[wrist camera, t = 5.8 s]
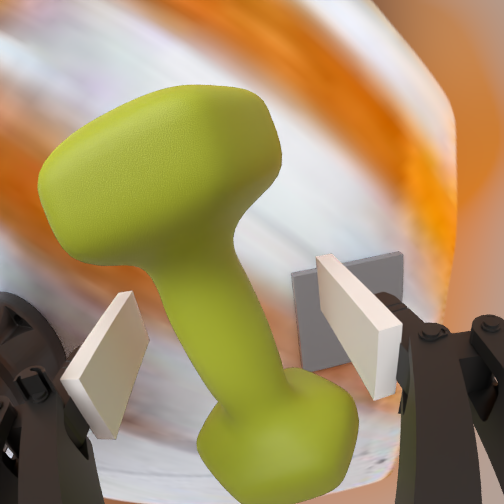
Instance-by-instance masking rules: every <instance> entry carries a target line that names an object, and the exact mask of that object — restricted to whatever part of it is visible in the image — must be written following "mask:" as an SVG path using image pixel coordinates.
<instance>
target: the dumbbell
mask: <svg viewBox="0 0 504 504" xmlns="http://www.w3.org/2000/svg"><path fill="white" fill-rule="evenodd" d="M281 165H282V152H281V146H280V141H279V138H278V135H277V131H276V129H275V126H274V123H273V121H272V118H271V115H270V113H269V110H268V108H267V106H266V105H265V103H264V101H263V100H262V99H261V98H260V97H259V96H257V95H256V94H254V93H252V92H250V91H248V90H245V89H240V88H235V87H227V86H214V85H182V86H175V87H170V88H165V89H162V90H158V91H155V92H152V93H149V94H147V95H144V96H141V97H139V98H136V99H134V100H132V101H130V102H127V103H125V104H123V105H121V106H119V107H117V108H115V109H113V110H111V111H109V112H107V113H105V114H104V115H102V116H100V117H98V118H96V119H95V120H93V121H91V122H90V123H88V124H86V125H85V126H83V127H82V128H80V129H79V130H77V131H76V132H74V133H73V134H72V135H70V136H69V137H68V138H67V139H66V140H65V141H63V142H62V143H61V144H60V145H59V146H58V147H57V148H56V149H55V150H54V151H53V152H52V153H51V154H50V156H49V157H48V158H47V159H46V161H45V162H44V164H43V166H42V168H41V171H40V173H39V178H38V193H39V197H40V201H41V204H42V206H43V209H44V211H45V214H46V217H47V219H48V222H49V224H50V226H51V228H52V230H53V233H54V235H55V237H56V238H57V240H58V242H59V243H60V245H61V246H62V248H63V249H64V250H65V251H66V252H67V253H68V254H69V255H70V256H71V257H73V258H75V259H77V260H79V261H81V262H84V263H88V264H94V265H100V266H117V265H130V266H136V267H140V268H141V269H143V270H144V271H146V273H147V274H148V275H149V276H150V277H151V278H152V280H153V282H154V283H155V285H156V287H157V290H158V292H159V294H160V297H161V300H162V303H163V305H164V308H165V311H166V314H167V316H168V319H169V321H170V323H171V325H172V327H173V329H174V331H175V333H176V335H177V337H178V339H179V341H180V343H181V344H182V346H183V348H184V350H185V352H186V353H187V355H188V357H189V359H190V360H191V362H192V364H193V366H194V367H195V369H196V371H197V372H198V374H199V376H200V377H201V379H202V380H203V382H204V383H205V385H206V386H207V388H208V389H209V391H210V392H211V394H212V395H213V396H214V397H215V399H216V400H217V401H218V403H217V404H216V405H215V407H214V408H213V410H212V411H211V413H210V414H209V416H208V418H207V419H206V421H205V423H204V425H203V427H202V429H201V431H200V433H199V435H198V437H197V451H198V453H199V455H200V457H201V459H202V460H203V462H204V463H205V465H206V466H207V468H208V469H209V470H210V472H211V473H212V474H213V475H214V477H215V478H216V479H217V480H218V481H219V482H220V484H221V485H222V486H223V487H224V488H225V489H226V490H227V491H228V492H229V493H230V494H231V495H232V496H233V497H234V498H235V499H236V500H237V501H239V502H240V503H241V504H295V503H299V502H303V501H306V500H309V499H313V498H316V497H318V496H321V495H324V494H326V493H328V492H330V491H332V490H334V489H335V488H336V487H338V486H339V485H340V483H341V482H342V481H343V479H344V477H345V475H346V473H347V470H348V468H349V465H350V462H351V459H352V455H353V452H354V448H355V444H356V440H357V435H358V427H359V418H358V413H357V408H356V405H355V402H354V400H353V398H352V397H351V395H350V394H349V393H348V392H347V391H345V390H344V389H343V388H341V387H339V386H338V385H336V384H334V383H332V382H330V381H329V380H327V379H325V378H323V377H320V376H318V375H316V374H314V373H312V372H309V371H307V370H304V369H301V368H294V367H293V368H286V369H283V366H282V362H281V359H280V356H279V353H278V350H277V347H276V344H275V341H274V338H273V335H272V332H271V329H270V326H269V324H268V321H267V319H266V317H265V314H264V312H263V309H262V307H261V305H260V303H259V301H258V298H257V296H256V294H255V292H254V289H253V287H252V285H251V283H250V281H249V279H248V277H247V275H246V273H245V271H244V269H243V267H242V265H241V263H240V262H239V260H238V257H237V255H236V253H235V249H234V244H233V237H234V232H235V228H236V226H237V224H238V222H239V220H240V219H241V217H242V216H243V214H244V213H245V212H246V210H247V209H248V208H249V207H250V206H251V205H252V204H253V203H254V202H255V201H256V200H257V199H258V198H259V197H260V196H261V195H262V194H263V193H264V192H265V191H266V190H267V189H268V188H269V187H270V186H271V185H272V183H273V182H274V180H275V179H276V178H277V176H278V174H279V171H280V168H281Z"/></svg>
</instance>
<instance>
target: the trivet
mask: <svg viewBox="0 0 504 504" xmlns="http://www.w3.org/2000/svg"><path fill="white" fill-rule="evenodd" d="M342 264H343V265H344V266H345V267H346V268H347V269H348V270H349V271H350V272H351V273H352V274H353V275H354V276H355V277H356V278H357V279H358V280H359V281H360V282H361V283H362V284H364V285H365V286H366V287H367V288H368V289H369V290H370V291H371V292H372V293H373V294H376V293H380V292H387V293H389V294H392V295H394V296H396V297H397V298H398V299H399V300H400V301H401V302H402V292H403V254H402V253H401V252H399V251H398V252H394V253H389V254H384V255H379V256H375V257H370V258H365V259H360V260H355V261H350V262H345V263H342ZM291 276H292V284H293V292H294V301H295V310H296V318H297V327H298V337H299V346H300V356H301V366H302V369H304V370H307V371H309V372H313V371H317V370H321V369H326V368H330V367H334V366H338V365H341V364H345V363H349V362H351V360H350V358H349V357H348V355H347V353H346V351H345V350H344V348H343V346H342V345H341V343H340V341H339V340H338V338H337V336H336V334H335V333H334V331H333V329H332V328H331V326H330V324H329V323H328V321H327V319H326V318H325V316H324V314H323V313H322V311H321V307H320V296H319V285H318V275H317V268H315V269H310V270H305V271H299V272H294V273H291Z"/></svg>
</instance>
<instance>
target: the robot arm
mask: <svg viewBox="0 0 504 504" xmlns="http://www.w3.org/2000/svg"><path fill="white" fill-rule="evenodd" d="M316 265H317V275H318V285H319V296H320V307H321V311H322V313H323V314H324V316H325V318H326V319H327V321H328V323H329V324H330V326H331V328H332V329H333V331H334V333H335V334H336V336H337V338H338V340H339V341H340V343H341V345H342V346H343V348H344V350H345V351H346V353H347V355H348V357H349V358H350V360H351V362H352V363H353V365H354V367H355V369H356V370H357V372H358V374H359V376H360V377H361V379H362V381H363V383H364V384H365V386H366V388H367V390H368V391H369V393H370V395H371V397H372V398H373V400H374V401H375V400H378V399H381V398H384V397H387V396H389V395H392V394H395V390H396V383H397V381H398V383H399V384H400V386H401V387H402V389H403V390H402V396H401V401H400V407H399V412H398V414H401V435H400V455H399V469H398V481H397V491H396V499H395V504H482V496H481V481H480V471H479V460H478V452H477V446H476V438H475V432H474V426H475V428H476V430H477V432H478V435H479V437H480V439H481V441H482V443H483V445H484V448H485V450H486V452H487V454H488V457H489V459H490V461H491V464H492V466H493V469H494V471H495V473H496V476H497V478H498V481H499V483H500V486H501V489H502V491H503V494H504V320H503V319H502V318H500V317H497V316H495V315H481V316H479V317H477V318H475V319H474V321H473V323H472V328H471V331H467V332H460V333H450V331H449V330H448V328H446V327H445V326H443V325H440V324H437V323H424V322H423V321H422V320H421V319H420V318H419V317H418V316H417V315H415V314H414V313H413V312H412V311H411V310H410V309H409V308H407V306H406V305H405V304H403V303H402V302H401V301H400V300H399V299H398V298H397V297H396V296H394V295H392V294H389V293H387V292H380V293H376V294H373V293H372V292H371V291H370V290H369V289H368V288H367V287H366V286H365V285H364V284H362V283H361V282H360V281H359V280H358V279H357V278H356V277H355V276H354V275H353V274H352V273H351V272H350V271H349V270H348V269H347V268H346V267H345V266H344V265H343V264H342V263H341V262H340V261H339V260H338V259H337V258H336V257H335V256H333V255H332V254H327V255H322V256H316ZM149 341H150V339H149V337H148V334H147V331H146V328H145V326H144V323H143V320H142V317H141V314H140V311H139V308H138V305H137V302H136V299H135V296H134V293H133V291H127V292H121V293H118V294H117V296H116V297H115V298H114V300H113V301H112V303H111V304H110V305H109V307H108V308H107V310H106V311H105V312H104V314H103V315H102V317H101V318H100V319H99V321H98V322H97V324H96V325H95V327H94V328H93V330H92V331H91V333H90V334H89V335H88V337H87V338H86V340H85V341H84V343H83V344H82V346H79V347H78V348H76V349H75V350H74V351H73V352H72V353H71V354H70V355H69V357H68V358H67V360H66V358H65V354H64V351H63V348H62V346H61V343H60V341H59V339H58V337H57V335H56V334H55V332H54V330H53V329H52V327H51V326H50V325H49V323H48V322H47V321H46V320H45V318H44V317H43V316H42V315H41V314H40V313H39V312H38V311H37V310H36V309H35V308H34V307H33V306H32V305H30V304H29V303H28V302H26V301H25V300H23V299H22V298H20V297H18V296H16V295H13V294H11V293H7V292H0V504H105V503H104V500H103V495H102V491H101V487H100V483H99V478H98V473H97V469H96V464H95V459H94V453H93V448H92V444H91V441H90V440H89V438H88V437H87V433H88V431H89V428H90V429H91V430H92V432H93V433H94V435H95V436H96V438H97V439H116V437H117V434H118V431H119V428H120V425H121V421H122V418H123V415H124V412H125V409H126V406H127V403H128V400H129V397H130V394H131V391H132V388H133V385H134V382H135V380H136V377H137V374H138V371H139V368H140V365H141V363H142V360H143V357H144V354H145V351H146V349H147V346H148V343H149ZM494 377H495V378H496V379H497V381H498V383H497V381H496V380H495V378H494ZM473 424H474V426H473ZM7 448H9V449H10V450H11V451H12V453H13V457H12V459H11V458H9V456H8V455H7V454H6V453H5V452H6V450H7Z"/></svg>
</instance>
